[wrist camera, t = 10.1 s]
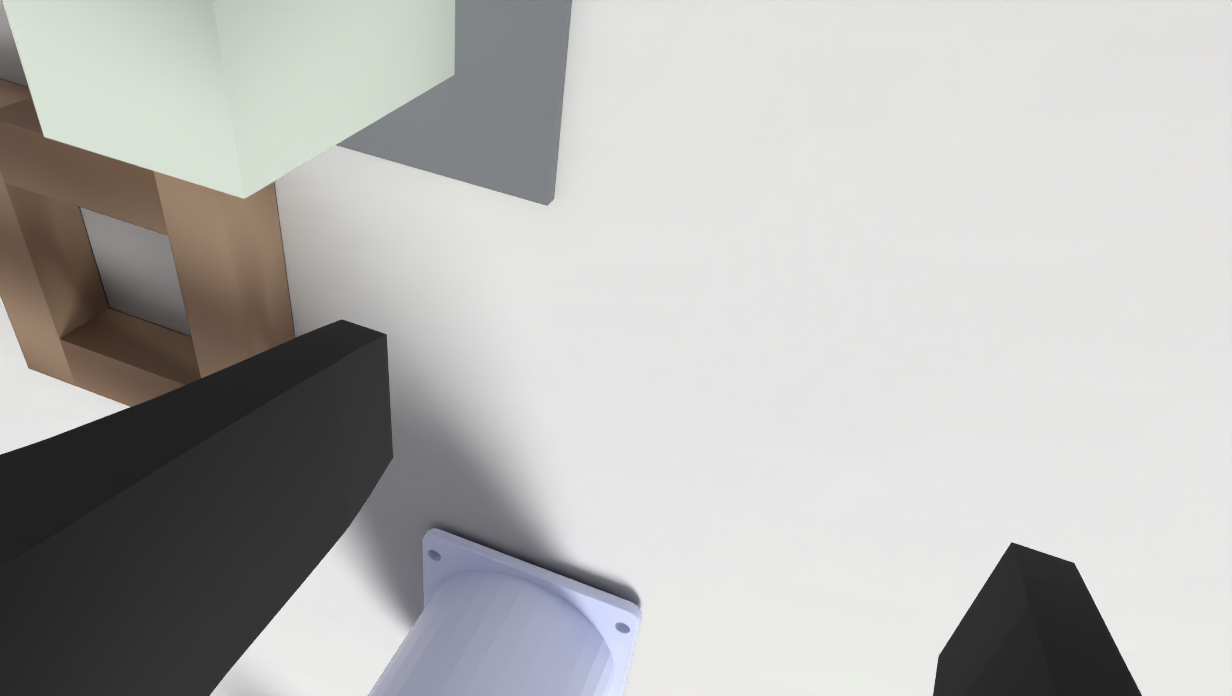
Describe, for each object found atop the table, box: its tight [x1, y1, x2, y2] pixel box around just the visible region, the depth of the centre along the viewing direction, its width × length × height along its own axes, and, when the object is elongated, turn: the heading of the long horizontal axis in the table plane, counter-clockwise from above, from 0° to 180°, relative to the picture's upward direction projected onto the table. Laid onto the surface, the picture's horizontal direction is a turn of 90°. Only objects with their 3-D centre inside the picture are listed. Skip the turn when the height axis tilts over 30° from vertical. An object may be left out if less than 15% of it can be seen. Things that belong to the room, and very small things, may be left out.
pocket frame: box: [0, 79, 295, 407], centre depth 25 cm, size 10×10×2 cm
